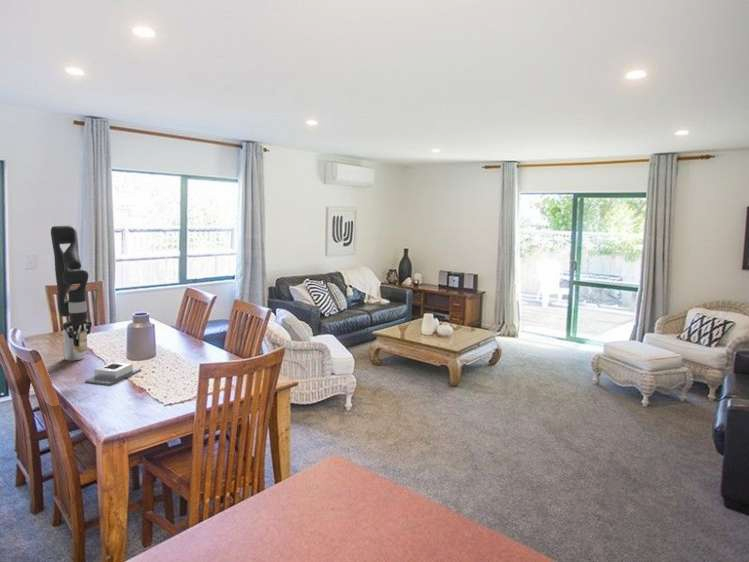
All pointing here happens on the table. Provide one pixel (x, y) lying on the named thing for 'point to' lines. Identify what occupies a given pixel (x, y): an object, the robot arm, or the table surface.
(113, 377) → the square peg board
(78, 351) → the wooden square peg
